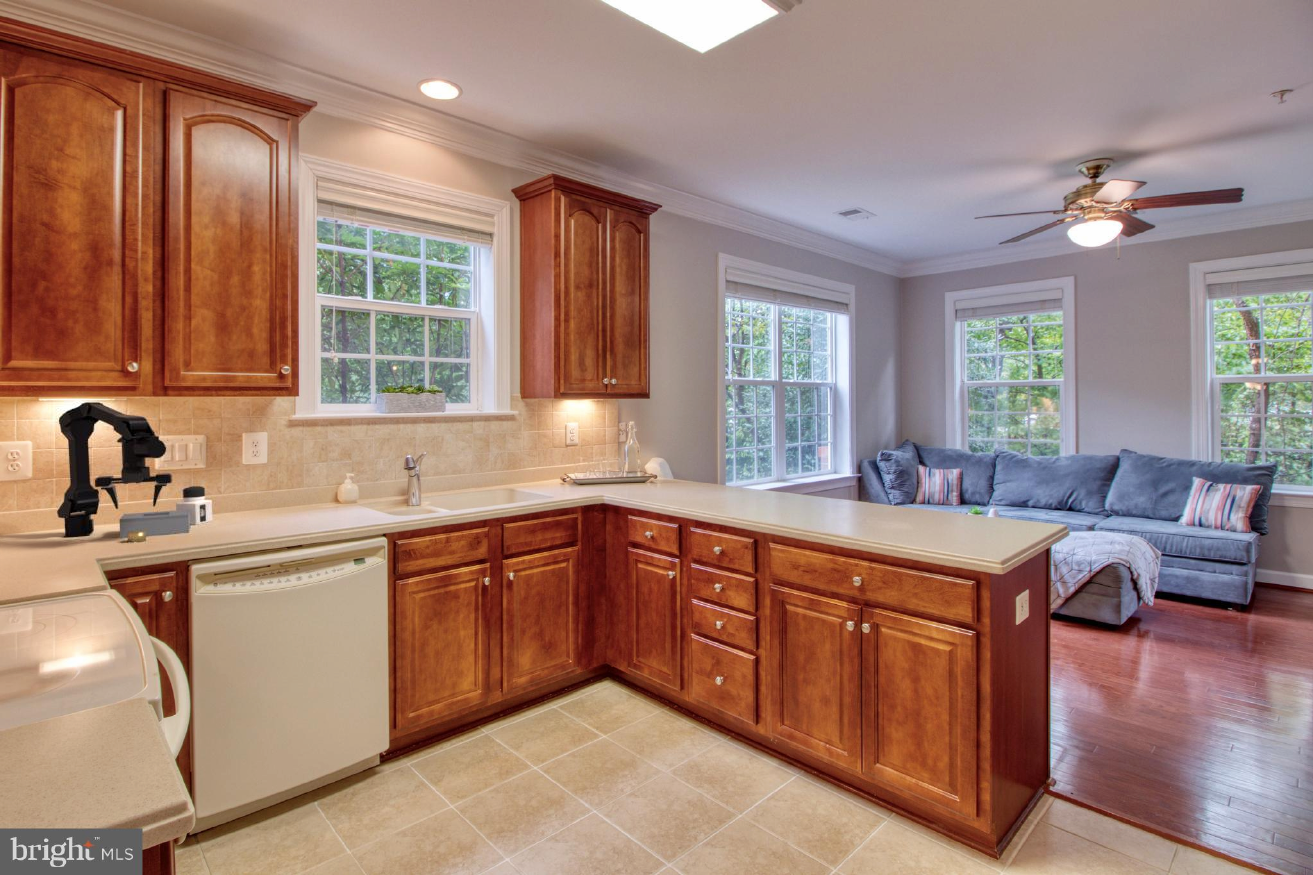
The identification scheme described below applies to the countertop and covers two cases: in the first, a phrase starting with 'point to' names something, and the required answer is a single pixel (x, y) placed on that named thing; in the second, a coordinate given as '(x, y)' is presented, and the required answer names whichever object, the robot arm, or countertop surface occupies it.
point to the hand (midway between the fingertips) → (135, 507)
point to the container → (196, 505)
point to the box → (155, 522)
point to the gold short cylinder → (136, 536)
